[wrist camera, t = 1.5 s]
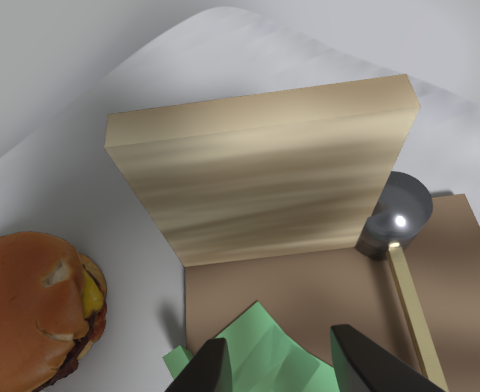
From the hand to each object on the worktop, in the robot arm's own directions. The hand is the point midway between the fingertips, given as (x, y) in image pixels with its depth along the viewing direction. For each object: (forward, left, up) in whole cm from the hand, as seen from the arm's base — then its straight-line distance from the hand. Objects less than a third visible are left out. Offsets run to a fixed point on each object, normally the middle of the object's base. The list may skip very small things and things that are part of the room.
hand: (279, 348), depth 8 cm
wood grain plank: (+3, 0, -13) cm, 13 cm away
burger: (-2, +15, -14) cm, 21 cm away
